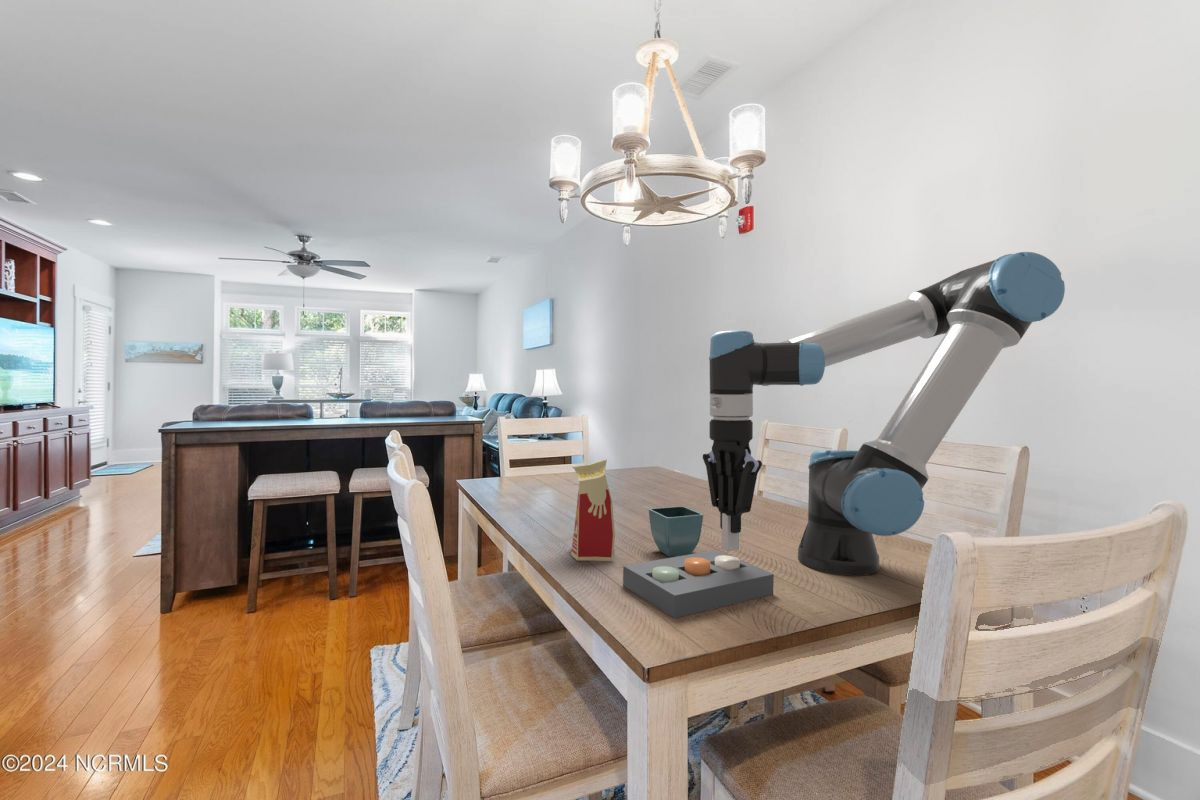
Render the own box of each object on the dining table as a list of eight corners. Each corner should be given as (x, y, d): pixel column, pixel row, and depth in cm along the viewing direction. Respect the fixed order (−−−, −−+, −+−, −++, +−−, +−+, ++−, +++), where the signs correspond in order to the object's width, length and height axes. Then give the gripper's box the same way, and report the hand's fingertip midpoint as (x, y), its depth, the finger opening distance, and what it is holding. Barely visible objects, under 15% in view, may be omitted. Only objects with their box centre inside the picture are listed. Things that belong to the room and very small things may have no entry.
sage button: (668, 579, 94) (668, 564, 94) (683, 588, 90) (684, 572, 90) (647, 583, 92) (647, 568, 92) (662, 592, 88) (662, 576, 88)
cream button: (727, 568, 100) (728, 554, 100) (744, 575, 96) (745, 561, 96) (709, 571, 98) (709, 557, 98) (725, 579, 94) (726, 564, 94)
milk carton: (613, 547, 118) (614, 456, 117) (615, 561, 108) (617, 462, 108) (571, 547, 117) (572, 455, 117) (570, 561, 108) (571, 461, 108)
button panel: (714, 567, 106) (715, 550, 106) (773, 594, 93) (773, 574, 92) (623, 585, 96) (623, 565, 95) (674, 618, 82) (674, 595, 82)
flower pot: (646, 549, 117) (647, 508, 117) (682, 545, 120) (683, 505, 120) (665, 561, 109) (666, 517, 109) (703, 557, 112) (704, 514, 112)
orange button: (699, 570, 97) (699, 556, 97) (715, 578, 93) (715, 563, 93) (679, 574, 95) (679, 559, 95) (695, 582, 91) (695, 567, 91)
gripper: (691, 417, 100) (691, 543, 101) (741, 421, 89) (740, 563, 90) (722, 415, 104) (721, 537, 105) (773, 419, 93) (773, 556, 93)
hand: (730, 549), depth 97 cm, fingers closed
